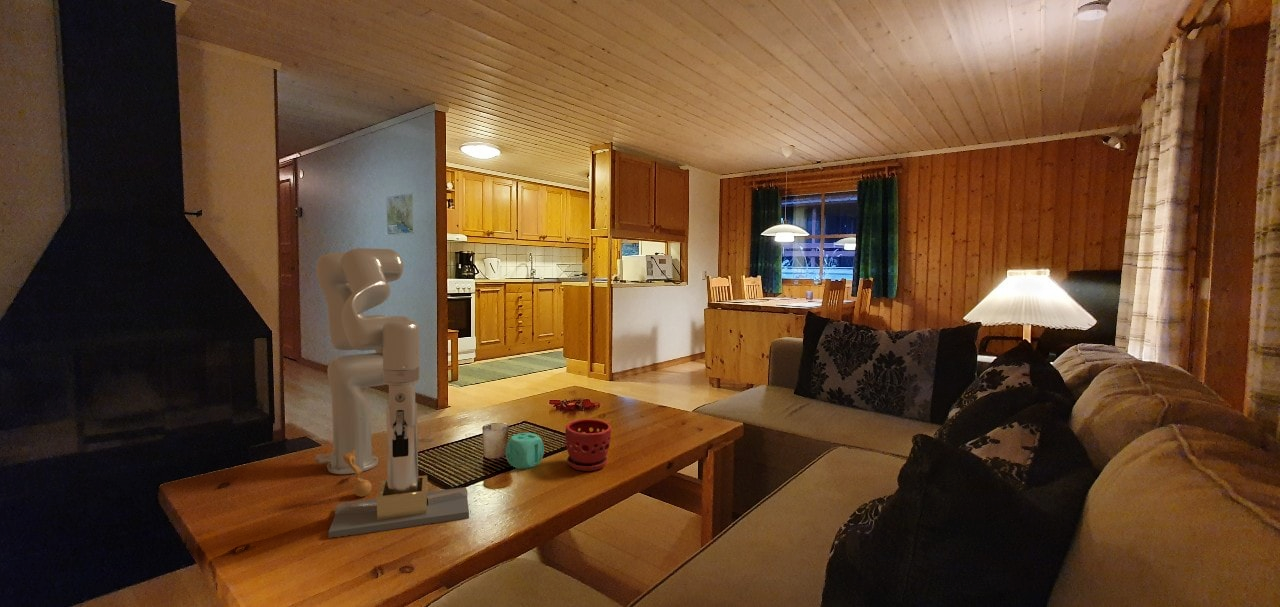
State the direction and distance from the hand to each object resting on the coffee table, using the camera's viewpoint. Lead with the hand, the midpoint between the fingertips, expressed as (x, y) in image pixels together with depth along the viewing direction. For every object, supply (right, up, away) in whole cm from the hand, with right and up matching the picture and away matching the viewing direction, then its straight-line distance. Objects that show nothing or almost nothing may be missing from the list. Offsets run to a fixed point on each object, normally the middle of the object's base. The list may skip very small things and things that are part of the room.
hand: (402, 448), depth 121 cm
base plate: (0, -15, +1) cm, 15 cm away
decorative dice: (+21, -14, +32) cm, 41 cm away
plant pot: (+40, -14, +32) cm, 53 cm away
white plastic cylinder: (0, -14, +1) cm, 14 cm away
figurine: (-15, -15, +9) cm, 23 cm away
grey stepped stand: (0, -14, +1) cm, 14 cm away
